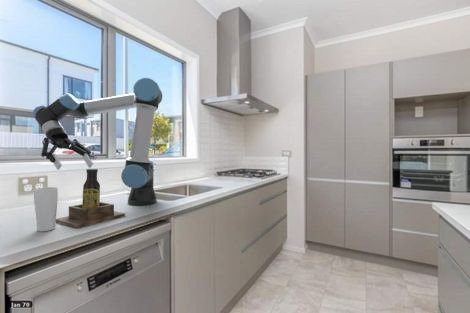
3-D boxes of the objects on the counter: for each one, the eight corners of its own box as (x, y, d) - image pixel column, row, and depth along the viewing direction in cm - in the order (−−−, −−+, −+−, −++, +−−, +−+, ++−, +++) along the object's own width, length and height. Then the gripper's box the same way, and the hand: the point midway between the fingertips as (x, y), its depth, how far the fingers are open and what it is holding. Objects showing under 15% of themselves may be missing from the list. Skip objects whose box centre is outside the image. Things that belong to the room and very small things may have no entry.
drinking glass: (62, 226, 90) (62, 187, 90) (49, 232, 84) (48, 190, 83) (44, 226, 90) (43, 187, 90) (29, 232, 83) (28, 190, 83)
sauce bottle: (80, 218, 97) (79, 169, 97) (85, 214, 103) (84, 168, 103) (98, 217, 99) (97, 169, 98) (102, 213, 105) (101, 168, 104)
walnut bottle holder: (103, 211, 114) (103, 199, 114) (125, 216, 106) (125, 203, 106) (55, 222, 96) (55, 207, 96) (76, 228, 88) (76, 213, 88)
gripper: (78, 139, 123) (98, 170, 117) (18, 137, 100) (39, 174, 94) (85, 129, 121) (106, 159, 115) (25, 123, 98) (47, 161, 92)
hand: (76, 166), depth 105 cm, fingers open, 13 cm apart
